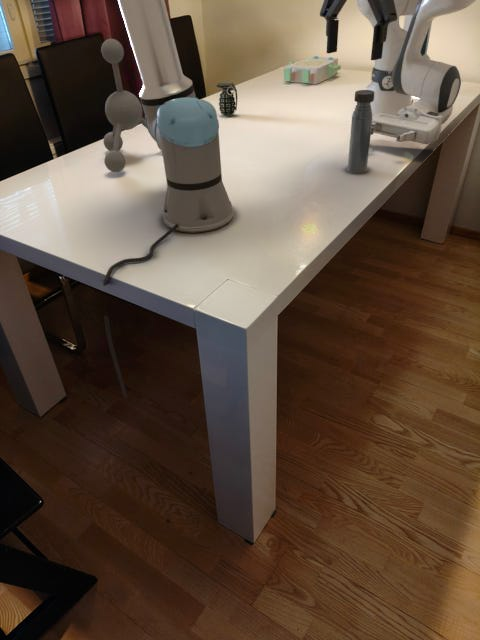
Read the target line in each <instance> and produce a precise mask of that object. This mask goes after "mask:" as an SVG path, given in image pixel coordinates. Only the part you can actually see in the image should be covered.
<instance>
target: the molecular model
mask: <svg viewBox="0 0 480 640" xmlns="http://www.w3.org/2000/svg"><path fill="white" fill-rule="evenodd" d="M100 52H101V55H102V58H103V59H104V60H105V62H107V63H109V64H111V66H112V71H113V76H114V81H115V87H116V91H114V92H113V93H111V94H110V95H109V96H107V99H106V101H105V105H104V106H105V107H104V112H105V117H106V118H107V120H108V122H109V123H110V124H111V125H112V126H113V128H112V131H110V132H107V133H106V134H105V135H104V137H103V146H104V147H105V149H106V150H107V151H108V152H107V153H106V155H105V156H104V158H103V159H104V165H105V167H106V169H107V170H109V171H110V172H113V173H120V172H121V171H123V170H124V169H125V167H126V163H127V162H126V161H127V160H126V157H125V155H124V154H123V153H122V152H121V151H120V150H121V149H122V148H123V144H124V141H123V138H122V137H121V136H122V131H128V130H132V129H134V128H136V127H137V126H138V125H139V124H141V125H142V126H143V127H145V128H146V129H147V126H146V123H145V117H143V106H142V103H141V100H139V98H138V97H137V96H136V95H135V94H134V93H132V92H130V91H128V90H124V89H123V83H122V78H121V72H120V66H119V63H120V62H121V61H122V60H123V59H124V55H125V49H124V47H123V44H122V43H121V42H119V41H118V40H117V39H115V38H108V39H106V40H104V41H103V43H102V45H101V49H100ZM156 145H157V147H158V149H159V150H160V151H161V149H160V148H159V146H158V144H157V143H156Z"/></svg>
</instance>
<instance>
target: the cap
mask: <svg viewBox="0 0 480 640" xmlns="http://www.w3.org/2000/svg"><path fill="white" fill-rule="evenodd" d="M373 101H374V91H371V90H366V89H359V90H356V91H355V93H354V102H356V103H357V102H359V103H370V102H373Z"/></svg>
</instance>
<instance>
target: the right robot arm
mask: <svg viewBox="0 0 480 640" xmlns="http://www.w3.org/2000/svg"><path fill="white" fill-rule="evenodd" d="M476 1H477V0H394V3H395V8H396V13H397V20H396V21H393V22H391V23H389V24H388V29H387V38H386V41H385V42H384V43H383V52H382V58H381V59H377V60H374V65H373V67H372V71H371V79H370V80H371V82H370V83H369V84H368V85H367V86H366V87H365V90H371V91H374V101H373V102H371V104H370V105H371V108H372V114H373V116H372V117H373V119H372V128H371V136H372V135H374V134H377V135H382V136H385V137H391V138H396V139H395V140H396V142H397V143H404V142H413V143H417V144H422V145H430V144H432V143H434V142H437V141H438V140H439V138H440V136H441V135H440V134H441V131H442V127H443V126H442V125H444V124H445V123H446V122H447V121H448V119H449V118H450V117H451V115H452V113H453V109H454V105H455V102H456V100H457V98H458V95H459V94H460V90H461V84H462V81H461V80H462V79H461V75H460V70H459V69H458V67H457V66H456V65H452V64H450V63H445V62H442V61H437V60H434V59H431V58H430V59H426V58H423V57H422V55H421V48H422V46H423V43H424V40H425V37H426V35H427V32H428V29H429V26H430V24H431V22H432V23H433V21H434V20H435V18H437V17H441V16H442V17H443V16H445V15H449V14H454V13H457V12H460V11H462V10H464V9H466V8H468V7H470V6H472V5H473V3H475V2H476ZM356 3H357V7H358V10H359V11H360V13H361V14H362V15H363V17H365V18H366V19H367V20H368V22H369V23H370V25H371V27H372V29H373V30H374V26H375V25H376V24H377V21H376V18H375V16H374V14H373V12H372V9H371V7H370V5H369V3H368V0H356ZM405 15H413V17H412V19H411V22H410V25H409V29H408V31H406V30H404V29H403V27H401V25H400V17H403V16H404V17H405ZM431 25H432V24H431ZM414 99H416V100H417V99H418V101H417V102H414Z"/></svg>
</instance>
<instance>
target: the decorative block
mask: <svg viewBox="0 0 480 640" xmlns="http://www.w3.org/2000/svg"><path fill="white" fill-rule="evenodd" d="M338 63H339V58H335V57H332V56H329V57H322V56H317V55H315V56H313V57H310V58H304V59H302V60H301V59H300V60H299V61H296V62H294V61H289V63H288V65H286V67H284V68H283V81H284V82H292V83H302V84H310V85H311V84H312V85H318V84H320V83H322V82H324V81H326V80H328V79H331V78H333V77H334V76H335V75H336V74H338V71H340V70H341V67H342V65H340V64H338Z"/></svg>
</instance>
